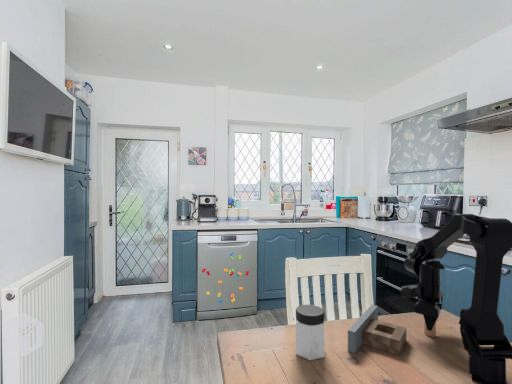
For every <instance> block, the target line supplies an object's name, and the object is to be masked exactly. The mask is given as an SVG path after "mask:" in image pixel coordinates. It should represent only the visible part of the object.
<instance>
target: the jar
mask: <svg viewBox="0 0 512 384" xmlns="http://www.w3.org/2000/svg"><path fill="white" fill-rule="evenodd" d="M325 316H326V315H325V310H324V308H322V307H321V306H317V305H315V304H314V305H313V304H301V305H299V306H297V307H296V308H295V355H297V356H299V357H302V358H304V359H305V360H308V361H314V360H317V359H322V358H325Z"/></svg>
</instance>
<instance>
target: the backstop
mask: <svg viewBox="0 0 512 384" xmlns="http://www.w3.org/2000/svg"><path fill="white" fill-rule="evenodd" d="M372 319H375V320H379V307H378V305H375V304H371V305H370V306H369V307H368V308H367V309H366V310H365V311H364V312H363V313H362V314H361V316H359V318H358V319H357V320H356V321H355V322H354V323H353V324H352V325H351V326H350V327H349V328H348V329H347V352H349V353H353V354H356V353H357V351H359V349H360V348H361V347H362V345H363V330H364V329H365V327H366V326H367V325H368V324H369V323H370V321H371V320H372Z"/></svg>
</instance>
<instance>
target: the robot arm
mask: <svg viewBox="0 0 512 384" xmlns="http://www.w3.org/2000/svg"><path fill="white" fill-rule="evenodd" d="M465 235H468V236H469V241H470V243H471V245H472V246H473V248H474V250H475V252H476V253H475V254H476V256H475V264H474V265H475V266H474V276H473V287H472V296H471V305H470V307H469V308H463V309H461V310H460V311H459V316H460V317H459V321H458V324H459V330H460V331H459V332H460V336H461V340H462V344H463V348H464V350H465V351H466V352H467V355H468V361H469V362H468V366H469V367H468V368H469V369H468V370H469V371H468V372H469V374H470V375H471V381H472V382H475V383H477V384H507V360H512V344H511V342H510V341H509V339H508V338H507V336H506V334H505V326H504V323H503V321H502V320H501V318H500V316H499V314H498V306H499V297H500V287H501V280H502V278H501V276H502V269H503V262H504V261H503V260H504V257H505V255H506V254H508V253H509V252H510V250H511V249H512V221H510V220H509V219H507V218H491V217H487V216H486V217H484V216H480V215H475V214H473V213H456V214H454V215H453V216H452V218H451V220H450V221H448V222H447V223H446V224H445V225H444V226H443V227H442V228H440V230H438V231H437V232H435V234H433V235H432V236H430V237H426V238H423V239H421V240H419V241H418V242H417V243H416V244H415V246H414V248H413V250H412V252H409V253H408V256H406V257H405V259H404V261H403V267H404V268H405V269H406V271H408V272H411V273H413V274H415V275H417V276H419V281H418V282H417V284H411V285H409V284H407V285H404V286H403V285H402V286H401V287H400V289H399V292H400V293H399V294H400V296H401V297H402V299H403V300H407V299H411V298H413V299H414V298H417V300H418V301H417V302H416V303H415V304H414V310H413V311H414V313H416V314H419V315H422V316H423V319H424V320H425V323H426V327H427V330H429V331H431V330H432V328H433V326H434V324H435V322H436V323H437V320H438V319H439V318H440V317H439V316H440V314H441V310H442V307H443V304H442V303H443V302H444V300H445V297H444V296H445V295H444V293H443V292H442V291H441V288H442V283H441V270H445V269H446V268H445V266H444V265H443V264H442V263H441V261H440V260H441V259H443V258H444V257H445V256H446V255H447V253H448V248H449V247H450V246H451V245H453V244H454V243H455V242H457V241H458V240H459V239H461V238H462V237H463V236H465ZM441 302H442V303H441Z"/></svg>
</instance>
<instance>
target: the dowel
mask: <svg viewBox="0 0 512 384" xmlns="http://www.w3.org/2000/svg"><path fill="white" fill-rule="evenodd" d="M423 323H424V325H423V328H424V330H423V331H424V335H425V336H427V337H430V338H435V337H437V321H436V322H435V324H434V326H433V328H432V330H431V331H429V330H427V327H426V323H425V320H424V321H423Z"/></svg>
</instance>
